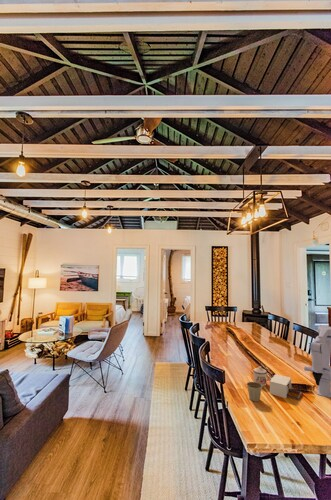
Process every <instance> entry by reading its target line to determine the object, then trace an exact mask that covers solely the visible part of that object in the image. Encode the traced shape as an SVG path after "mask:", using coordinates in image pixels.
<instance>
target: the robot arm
mask: <svg viewBox="0 0 331 500" xmlns="http://www.w3.org/2000/svg"><path fill="white" fill-rule="evenodd" d="M317 331H318V335H317V336H316V337H315V339H314V341H312V342H311V343H310V347H309V348H310V355H311V366H309V367H308V366H304V367H303V369H304V370H303V371H305V372H306V371H307V372H311V373H312V377H313V379H314V381H315V385H316V386H317V392H316V395H319V396H323V397H326V398H331V366H330V359H331V326H327V325H321V324H319V325H318V328H317Z"/></svg>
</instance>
